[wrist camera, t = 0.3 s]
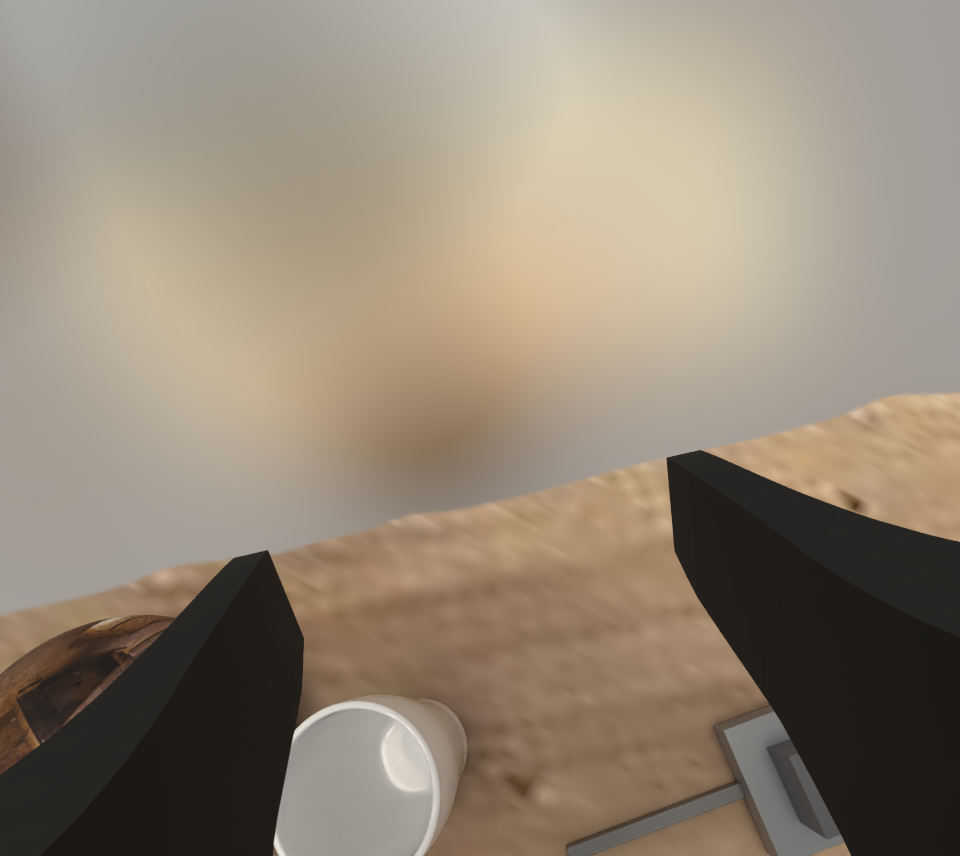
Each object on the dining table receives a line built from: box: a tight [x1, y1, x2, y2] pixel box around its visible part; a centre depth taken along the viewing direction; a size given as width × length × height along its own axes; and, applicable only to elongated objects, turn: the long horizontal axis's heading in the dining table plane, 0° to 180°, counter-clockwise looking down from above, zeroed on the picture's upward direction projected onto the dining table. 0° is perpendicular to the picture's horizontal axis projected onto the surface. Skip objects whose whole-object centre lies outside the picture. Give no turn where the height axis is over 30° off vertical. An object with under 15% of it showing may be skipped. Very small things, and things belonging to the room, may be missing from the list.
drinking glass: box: [274, 694, 468, 856], centre depth 32 cm, size 7×7×15 cm
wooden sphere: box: [0, 615, 176, 775], centre depth 33 cm, size 15×15×15 cm
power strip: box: [566, 705, 844, 856], centre depth 34 cm, size 6×29×6 cm, turn 109°
